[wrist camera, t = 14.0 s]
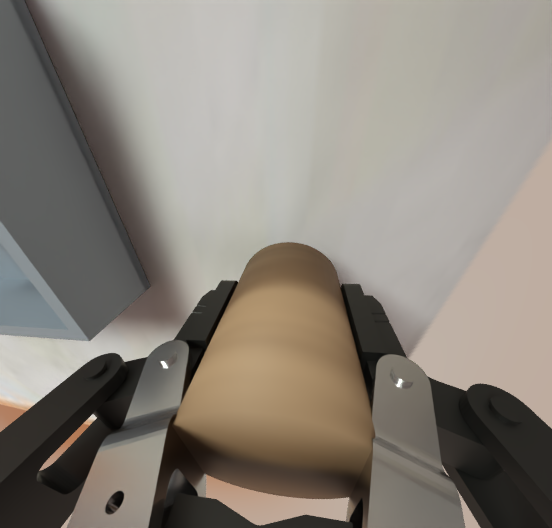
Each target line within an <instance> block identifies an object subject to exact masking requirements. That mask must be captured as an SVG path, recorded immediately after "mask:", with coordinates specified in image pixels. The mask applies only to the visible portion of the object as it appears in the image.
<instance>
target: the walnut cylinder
mask: <svg viewBox="0 0 552 528" xmlns="http://www.w3.org/2000/svg"><path fill="white" fill-rule="evenodd" d="M172 427H173V428H174V429H175V431H176V432H177V434H178V435H179V437H180V438H181V440H182V441H183V443H184V444H185V445H186V447H187V448H188V450H189V451H190V453H191V454H192V456H193V457H194V459H195V460H196V462H197V463H198V464H199V466H200V467H201V469H202V470H203V472H204V473H205V474H207V475H209V476H211V477H214V478H216V479H219V480H221V481H224V482H227V483H230V484H232V485H236V486H239V487H242V488H246V489H250V490H254V491H258V492H263V493H268V494H273V495H279V496H287V497H296V498H307V499H335V498H346V497H350V495H351V493H352V491H353V489H354V487H355V484H356V482H357V480H358V478H359V476H360V474H361V472H362V470H363V467H364V465H365V463H366V461H367V459H368V457H369V455H370V453H371V450H372V438H374V439H375V437H376V435H375V430H374V425H373V421H372V412H371V404H370V400H369V396H368V392H367V388H366V384H365V380H364V377H363V373H362V369H361V365H360V361H359V357H358V353H357V349H356V346H355V342H354V338H353V334H352V330H351V326H350V322H349V318H348V314H347V311H346V307H345V303H344V299H343V295H342V291H341V287H340V283H339V280H338V276H337V272H336V270H335V268H334V266H333V264H332V263H331V261H330V260H329V259H328V258H327V257H326V256H325V255H324V254H322V253H321V252H319V251H318V250H316V249H314V248H312V247H310V246H307V245H304V244H299V243H290V242H287V243H278V244H273V245H270V246H268V247H265V248H263V249H262V250H260V251H259V252H257V253H256V254H255V255H254V256H253V257H252V258H251V259H250V260H249V262H248V264H247V265H246V268H245V270H244V272H243V274H242V276H241V278H240V280H239V282H238V284H237V287H236V289H235V291H234V293H233V295H232V297H231V299H230V301H229V303H228V306H227V308H226V310H225V312H224V314H223V316H222V318H221V320H220V322H219V325H218V327H217V329H216V331H215V333H214V335H213V337H212V339H211V341H210V344H209V346H208V348H207V350H206V352H205V354H204V356H203V358H202V360H201V363H200V365H199V367H198V369H197V371H196V373H195V375H194V377H193V380H192V382H191V384H190V386H189V388H188V390H187V392H186V394H185V396H184V399H183V401H182V403H181V405H180V407H179V409H178V411H177V414H176V417H175V419H174V422H173V424H172Z"/></svg>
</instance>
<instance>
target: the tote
mask: <svg viewBox="0 0 552 528" xmlns="http://www.w3.org/2000/svg"><path fill="white" fill-rule="evenodd" d="M149 287H150V285H149V282H148V280H147V278H146V276H145V273H144V271H143V269H142V266H141V264H140V262H139V260H138V257H137V255H136V253H135V251H134V248H133V246H132V244H131V241H130V239H129V237H128V235H127V232H126V230H125V228H124V226H123V223H122V221H121V219H120V217H119V214H118V212H117V210H116V207H115V205H114V203H113V201H112V198H111V196H110V194H109V192H108V189H107V187H106V185H105V182H104V180H103V178H102V176H101V173H100V171H99V169H98V167H97V164H96V162H95V160H94V157H93V155H92V153H91V151H90V148H89V146H88V144H87V142H86V139H85V137H84V135H83V133H82V130H81V128H80V126H79V123H78V121H77V119H76V117H75V114H74V112H73V110H72V108H71V105H70V103H69V101H68V98H67V96H66V94H65V92H64V89H63V87H62V85H61V83H60V80H59V78H58V76H57V73H56V71H55V69H54V67H53V64H52V62H51V60H50V58H49V55H48V53H47V51H46V49H45V46H44V44H43V42H42V39H41V37H40V35H39V33H38V30H37V28H36V26H35V24H34V21H33V19H32V17H31V14H30V12H29V10H28V8H27V5H26V3H25V1H24V0H0V335H13V336H27V337H40V338H54V339H68V340H82V341H90V340H91V339H92V338H94V337H95V336H96V335H97V334H98V333H99V332H100V331H101V330H102V329H104V328H105V327H106V326H107V325H108V324H109V323H110V322H111V321H113V320H114V319H115V318H116V317H117V316H118V315H119V314H120V313H121V312H123V311H124V310H125V309H126V308H127V307H128V306H129V305H130V304H131V303H133V302H134V301H135V300H136V299H137V298H138V297H139V296H140V295H141V294H143V293H144V292H145V291H146V290H147V289H148V288H149Z"/></svg>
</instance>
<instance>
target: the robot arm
mask: <svg viewBox="0 0 552 528" xmlns="http://www.w3.org/2000/svg"><path fill="white" fill-rule="evenodd" d="M237 284H238V282H237V281H223V280H222V281H221V282H220V283H219V285H218V287H217V288H216V290H211V291H209V292H208V293H207V294H205V295H204V296H203V297H202V298H201V300H200V301H199V303H198V304H197V307H195V309H194V310H193V313H191V315H190V316H189V318H188V319H187V321H186V322H185V324H184V325H183V327H182V328H181V330H180V331H179V333H178V334H177V336H176V337H175V339H174V340H173V341H169V342H166V343H164V344H162V345H160V346H159V347H157V348H156V349H155V350H154V351H152V352H151V354H150V355H149V356H148V357H146V358H141V359H137V360H132V361H128V362H124V361H123V359H122V358H121V357H120V355H118V354H116V353H108V354H104V355H101V356H98V357H96V358H94V359H92V360H91V361H89V362H88V363H86V364H85V365H83V366H82V367H81V368H80V369H78V370H77V371H76V372H75V373H73V374H72V375H71V376H70V377H69V378H67V379H66V380H65V381H64V382H62V383H61V384H60V385H59V386H57V387H56V388H55V389H54V390H52V391H51V392H50V393H49V394H47V395H46V396H45V397H44V398H42V399H41V400H40V401H39V402H37V403H36V404H35V405H34V406H32V407H31V408H30V409H29V410H27V411H26V412H25V413H24V414H23V415H21V416H20V417H19V418H18V419H16V420H15V421H14V422H12V423H11V424H10V425H9V426H8V427H6V428H5V429H4V430H3V431H1V432H0V528H61V526H62V525H63V524H64V523H65V521H66V520H67V519H68V517H69V516H70V515H71V514H72V512H73V514H72V516H71V519H70V521H69V523H68V526H67V528H465V523H464V519H463V512H462V507H461V502H460V498H459V494H458V491H459V493H460V495H461V496H462V498H463V499H464V501H465V503H466V504H467V506H468V508H469V509H470V511H471V512H472V514H473V516H474V517H475V519H476V520H477V522H478V524H479V526H480V527H481V528H552V429H551V428H550V427H549V426H548V425H547V424H546V423H545V422H544V421H542V420H541V419H540V418H539V417H538V416H537V415H536V414H535V413H534V412H533V411H532V410H531V409H530V408H528V407H527V406H526V405H525V404H524V403H523V402H521V401H520V400H519V399H517V398H516V397H514V396H513V395H511V394H510V393H508V392H506V391H504V390H502V389H500V388H497V387H494V386H491V385H487V384H475V385H472V386H471V387H470V388H469V389H468V390H467V391H464V390H462V389H459V388H456V387H453V386H450V385H447V384H444V383H441V382H439V381H436V380H434V379H431V378H430V377H428V376H427V375H426V374H425V372H424V371H423V370H422V369H421V368H420V367H419V366H418V365H417V364H416V363H414V362H413V361H411V360H409V359H408V358H407V357H406V355H405V353H404V351H403V349H402V347H401V345H400V343H399V340H398V338H397V336H396V334H395V332H394V330H393V328H392V326H391V324H390V323H389V320H388V318H387V316H386V315H385V311H384V309H383V307H382V305H381V304H380V303H379V302H378V301H377V300H376V299H375V298H374V297H373V296H364V293H363V291H362V288H361V286H360V285H359V284H342V286H341V291H342V295H343V299H344V303H345V307H346V311H347V314H348V318H349V322H350V326H351V330H352V334H353V338H354V342H355V346H356V349H357V353H358V357H359V361H360V365H361V369H362V373H363V377H364V380H365V384H366V388H367V392H368V396H369V400H370V404H371V412H372V421H373V425H374V430H375V435H376V437H375V439H374V438H372V450H371V453H370V455H369V457H368V459H367V461H366V463H365V465H364V467H363V470H362V472H361V474H360V476H359V478H358V480H357V482H356V484H355V487H354V489H353V491H352V493H351V495H350V497H349V502H348V509H347V517H346V522H345V521H339V520H333V519H327V518H321V517H316V516H310V515H303V516H299V517H294V518H291V519H287V520H282V521H278V522H274V523H270V524H266V525H261V526H259V525H255V524H253V523H251V522H250V521H248V520H247V519H245V518H244V517H242V516H241V515H239V514H238V513H236V512H235V511H233V510H232V509H230V508H229V507H227V506H226V505H224V504H223V503H221V502H220V501H218V500H217V499H211V498H206V474H205V473H204V472H203V470H202V469H201V467H200V466H199V464H198V463H197V462H196V460H195V459H194V457H193V456H192V454H191V453H190V451H189V450H188V448H187V447H186V445H185V444H184V443H183V441H182V440H181V438H180V437H179V435H178V434H177V432H176V431H175V429H174V428H173V427H172V424H173V422H174V419H175V417H176V414H177V411H178V409H179V407H180V405H181V403H182V401H183V399H184V396H185V394H186V392H187V390H188V388H189V386H190V384H191V382H192V380H193V377H194V375H195V373H196V371H197V369H198V367H199V365H200V363H201V360H202V358H203V356H204V354H205V352H206V350H207V348H208V346H209V344H210V341H211V339H212V337H213V335H214V333H215V331H216V329H217V327H218V325H219V322H220V320H221V318H222V316H223V314H224V312H225V310H226V308H227V306H228V303H229V301H230V299H231V297H232V295H233V293H234V291H235V289H236V287H237ZM92 414H94V415H95V416H96V417H97V419H96V420H95V421H94V422H93V423H92V424H91V425H90V426H89V427H88V428H87V429H86V430H85V431H84V432H83V433H82V434H81V436H80V437H79V438H77V440H76V441H75V442H74V443H73V444H72V445H71V446H70V447H69V448H68V449H67V450H66V451H65V452H64V453H63V454H62V455H61V456H60V457H59V458H58V459H57V460H56V461H55V462H54V463H53V464H52V465H51V466H49V467H47V468H46V469H44V470H41V471H39V470H40V468H41V467H42V465H43V464H44V463H45V461H46V460H47V459H48V458H49V457H50V456H51V455H52V454H53V453H54V452H55V451H56V450H57V449H58V448H59V447H60V446H61V445H62V444H63V443H64V442H65V441H66V440H67V439H68V438H69V437H70V436H71V435H72V434H73V433H74V432H75V431H76V430H77V429H78V428H79V427H80V426H81V425H82V424H83V423H84V422H85V421H86V420H87V419H88V418H89V417H90V416H91V415H92ZM442 465H443V466H444V468H445V470H446V472H447V473H448V475H449V476H448V475H446V473H445V472H444V470H443V467H442ZM457 490H458V491H457Z"/></svg>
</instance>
